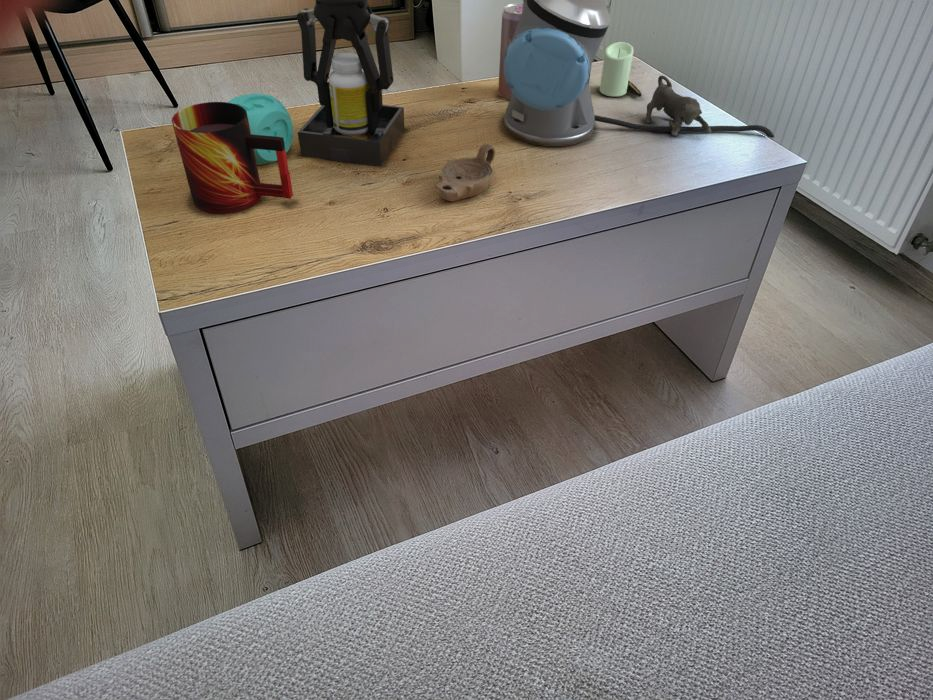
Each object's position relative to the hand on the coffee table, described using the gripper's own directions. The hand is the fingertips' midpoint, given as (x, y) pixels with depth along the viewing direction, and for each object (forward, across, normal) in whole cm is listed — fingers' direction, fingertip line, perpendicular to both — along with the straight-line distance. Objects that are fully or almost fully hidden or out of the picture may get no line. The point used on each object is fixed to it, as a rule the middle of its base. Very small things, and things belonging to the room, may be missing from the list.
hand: (352, 126), depth 115 cm
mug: (+3, -10, -20) cm, 23 cm away
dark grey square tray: (+3, 0, 0) cm, 3 cm away
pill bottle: (0, 0, 0) cm, 0 cm away
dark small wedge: (+3, +42, +36) cm, 56 cm away
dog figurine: (+3, +51, +19) cm, 55 cm away
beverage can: (+3, +22, +26) cm, 34 cm away
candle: (+3, +40, +32) cm, 51 cm away
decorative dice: (+3, -13, -8) cm, 15 cm away
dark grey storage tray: (+3, 0, 0) cm, 3 cm away
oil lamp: (+3, +21, -10) cm, 23 cm away
